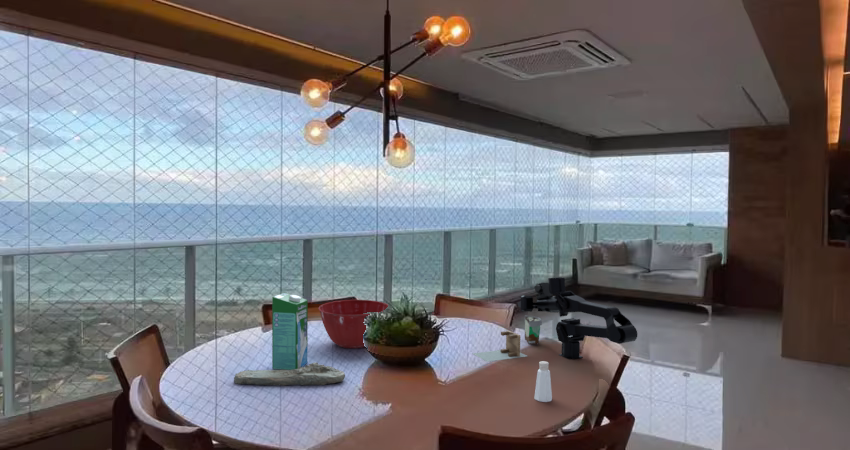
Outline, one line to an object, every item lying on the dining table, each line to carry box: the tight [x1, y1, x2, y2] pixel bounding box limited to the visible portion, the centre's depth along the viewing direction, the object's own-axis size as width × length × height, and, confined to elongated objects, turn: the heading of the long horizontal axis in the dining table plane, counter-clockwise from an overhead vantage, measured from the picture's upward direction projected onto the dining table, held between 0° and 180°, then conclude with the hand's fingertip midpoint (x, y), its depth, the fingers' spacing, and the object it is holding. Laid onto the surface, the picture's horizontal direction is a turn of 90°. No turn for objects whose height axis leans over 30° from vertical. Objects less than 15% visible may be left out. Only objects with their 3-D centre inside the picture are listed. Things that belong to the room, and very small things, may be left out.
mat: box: [472, 349, 528, 363], centre depth 202 cm, size 11×18×1 cm, turn 115°
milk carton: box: [271, 292, 309, 370], centre depth 186 cm, size 9×9×25 cm
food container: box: [524, 315, 543, 345], centre depth 222 cm, size 12×6×10 cm, turn 179°
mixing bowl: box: [318, 299, 389, 349], centre depth 216 cm, size 28×28×16 cm
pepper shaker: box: [533, 360, 553, 403], centre depth 158 cm, size 5×5×11 cm
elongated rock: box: [233, 362, 346, 386], centre depth 171 cm, size 35×5×10 cm
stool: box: [500, 330, 521, 357], centre depth 203 cm, size 8×4×8 cm, turn 25°
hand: (526, 304), depth 223 cm, fingers open, 9 cm apart
